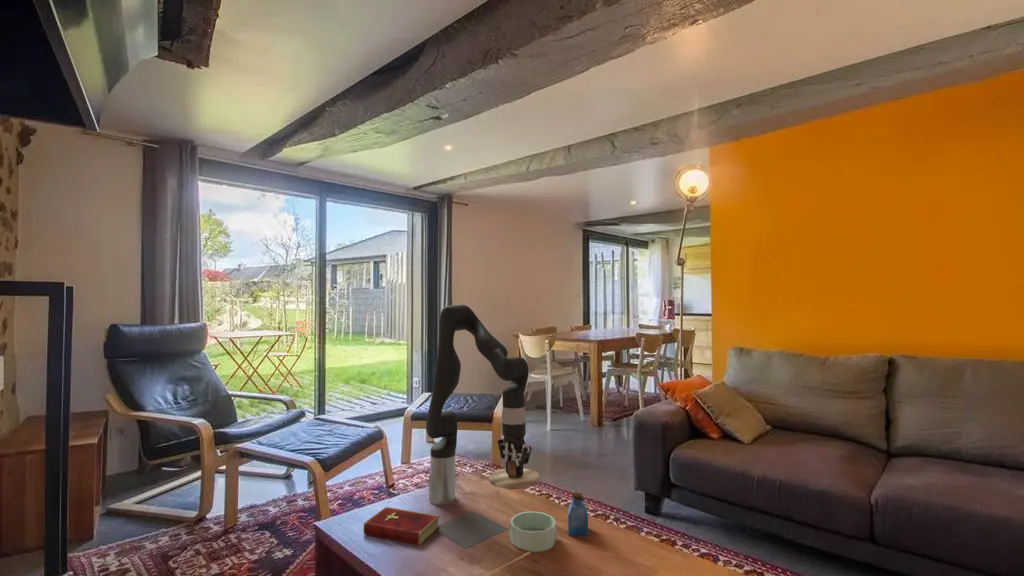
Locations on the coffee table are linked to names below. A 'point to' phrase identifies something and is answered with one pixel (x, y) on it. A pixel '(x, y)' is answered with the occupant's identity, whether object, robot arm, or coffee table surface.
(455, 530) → the mat
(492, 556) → the coffee table surface
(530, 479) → the lid
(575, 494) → the perfume bottle
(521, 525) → the bowl
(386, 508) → the hardcover book
